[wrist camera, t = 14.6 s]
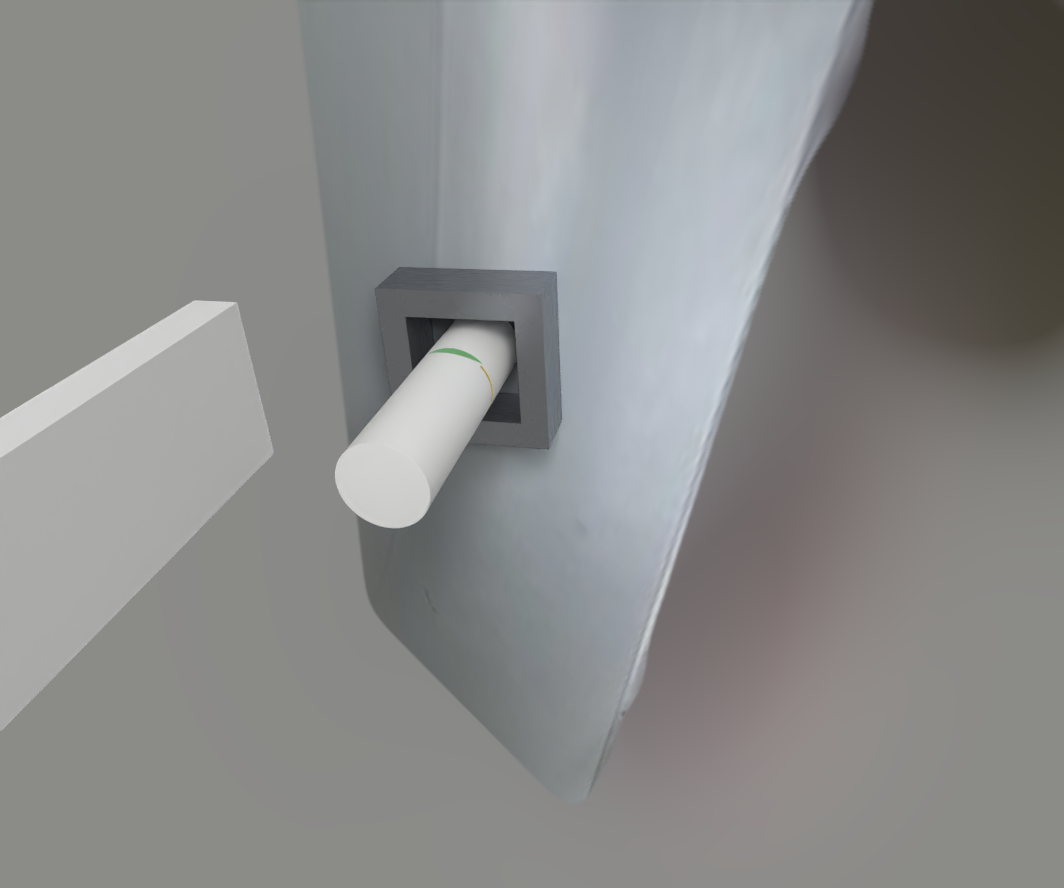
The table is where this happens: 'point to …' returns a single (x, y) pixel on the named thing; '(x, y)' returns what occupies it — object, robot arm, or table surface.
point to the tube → (426, 424)
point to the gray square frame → (482, 297)
